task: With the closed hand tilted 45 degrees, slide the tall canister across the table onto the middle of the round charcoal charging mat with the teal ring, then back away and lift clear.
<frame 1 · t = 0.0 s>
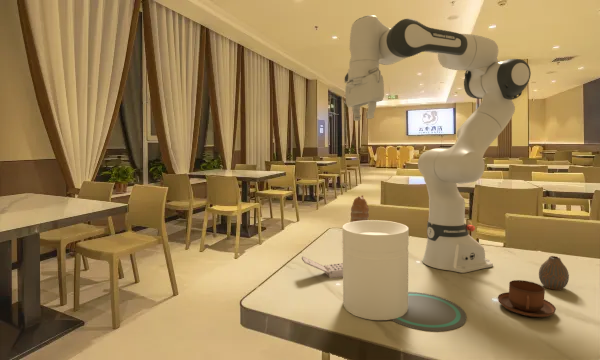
hand: (363, 119, 108), 48 cm above the table, tool pointing down, fingers open, 8 cm apart
canister: (375, 305, 90), on the table, touching charging mat
cup and saucer: (525, 310, 87), on the table
charging mat: (421, 309, 87), on the table
mobile phone: (341, 275, 112), on the table
brown ribbed oblong piece: (359, 236, 157), on the table
vase: (552, 288, 101), on the table
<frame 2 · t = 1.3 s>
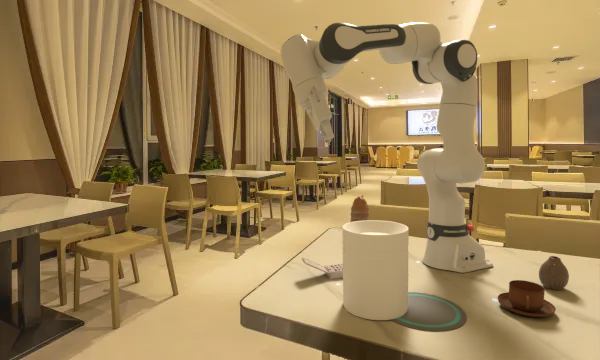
hand: (330, 140, 98), 42 cm above the table, tool tilted 20°, fingers open, 8 cm apart
nothing on the table moved.
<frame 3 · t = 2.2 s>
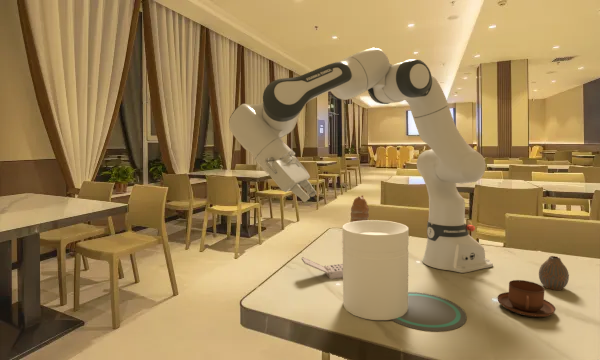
hand: (311, 197, 91), 27 cm above the table, tool tilted 45°, fingers open, 8 cm apart
nothing on the table moved.
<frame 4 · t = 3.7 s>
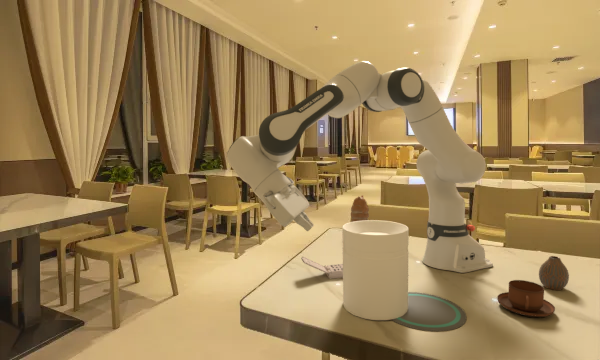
hand: (311, 228, 91), 19 cm above the table, tool tilted 45°, fingers closed
nothing on the table moved.
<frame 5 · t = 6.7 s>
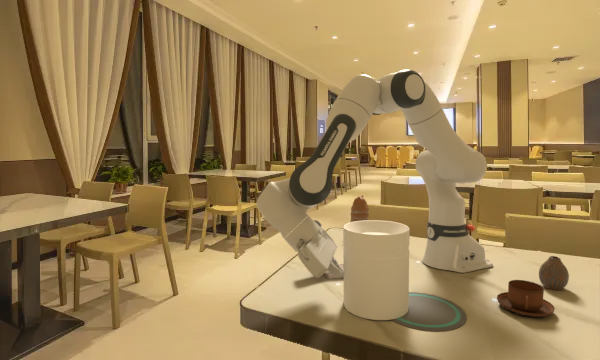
hand: (341, 275, 91), 7 cm above the table, tool tilted 45°, fingers closed, pressing on canister
canister: (375, 305, 89), on the table, touching gripper
everything else where it was.
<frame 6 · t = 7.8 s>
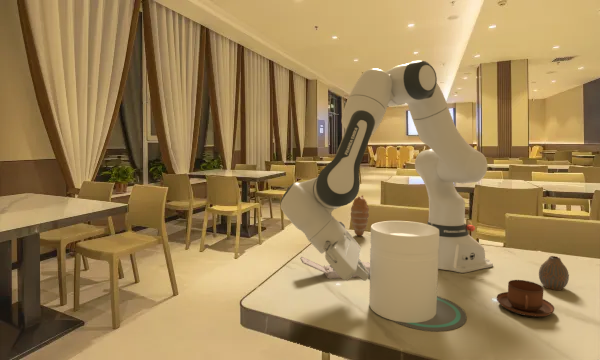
hand: (367, 277, 89), 7 cm above the table, tool tilted 45°, fingers closed, pressing on canister
canister: (402, 307, 88), resting on charging mat, touching gripper
everything else where it was.
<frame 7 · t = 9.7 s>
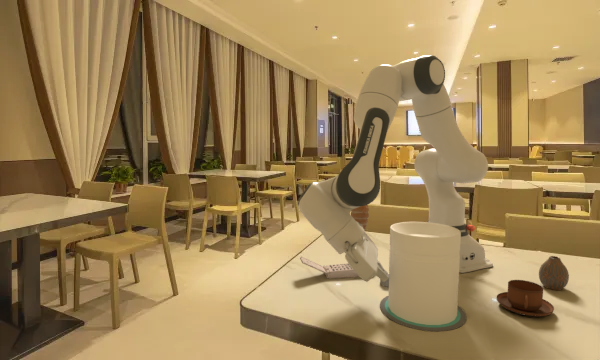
hand: (386, 278, 88), 7 cm above the table, tool tilted 45°, fingers closed, pressing on canister
canister: (421, 309, 87), resting on charging mat, touching gripper
everything else where it was.
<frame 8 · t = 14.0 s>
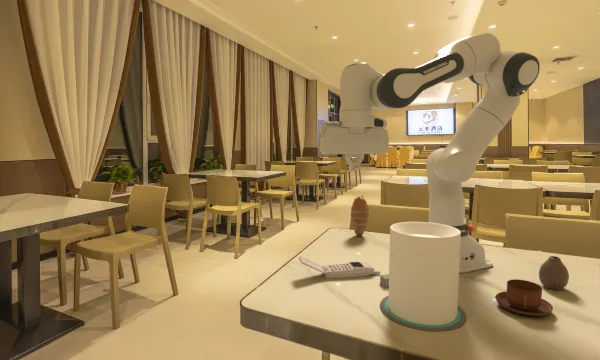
hand: (354, 169, 103), 33 cm above the table, tool pointing down, fingers closed
canister: (421, 309, 87), resting on charging mat
at the end: canister inside the target area on the charging mat (0.1 cm from its centre), point 0.0 cm above the charging mat's base; canister tilted 0°; canister moved 11.2 cm from its start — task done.
